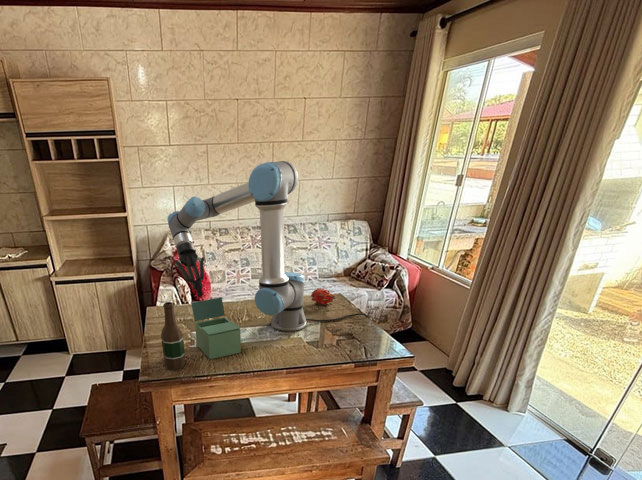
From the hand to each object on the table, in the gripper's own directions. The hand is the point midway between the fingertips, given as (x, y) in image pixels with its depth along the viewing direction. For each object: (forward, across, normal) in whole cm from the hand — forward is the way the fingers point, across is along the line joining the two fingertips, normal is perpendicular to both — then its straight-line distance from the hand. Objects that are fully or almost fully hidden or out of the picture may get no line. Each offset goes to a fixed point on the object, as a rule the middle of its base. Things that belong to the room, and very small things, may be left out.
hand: (200, 295), depth 167 cm
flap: (+8, 0, +4) cm, 9 cm away
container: (+24, 0, 0) cm, 24 cm away
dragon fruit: (+7, -66, -17) cm, 68 cm away
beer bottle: (+28, +20, +4) cm, 35 cm away
